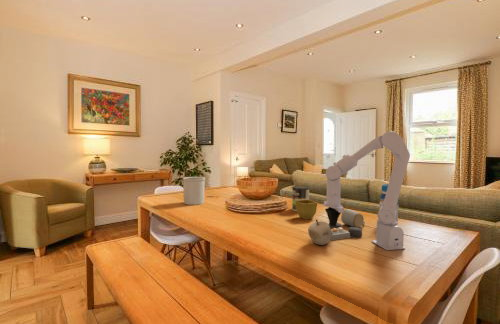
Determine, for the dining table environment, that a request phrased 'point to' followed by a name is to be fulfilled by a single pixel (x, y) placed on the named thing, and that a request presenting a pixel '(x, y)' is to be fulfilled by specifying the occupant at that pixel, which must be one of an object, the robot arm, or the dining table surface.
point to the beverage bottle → (382, 197)
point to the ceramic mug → (352, 218)
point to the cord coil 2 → (355, 232)
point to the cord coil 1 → (335, 226)
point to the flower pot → (306, 208)
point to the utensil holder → (193, 190)
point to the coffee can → (299, 195)
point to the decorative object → (320, 232)
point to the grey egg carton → (339, 234)
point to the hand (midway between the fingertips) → (333, 225)
